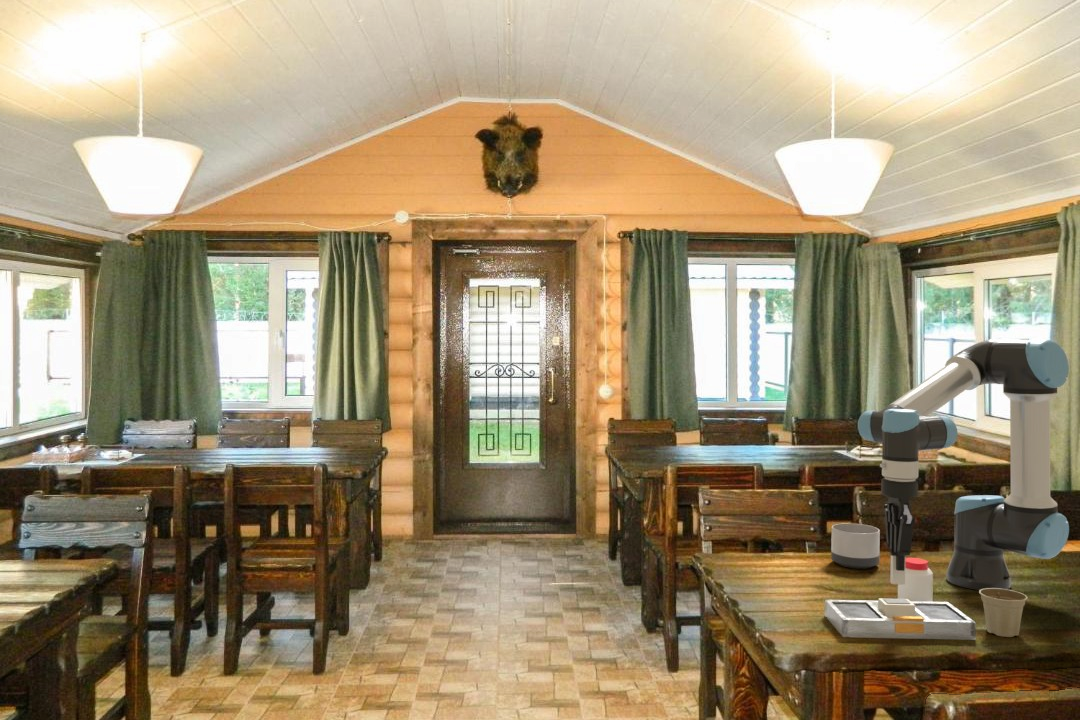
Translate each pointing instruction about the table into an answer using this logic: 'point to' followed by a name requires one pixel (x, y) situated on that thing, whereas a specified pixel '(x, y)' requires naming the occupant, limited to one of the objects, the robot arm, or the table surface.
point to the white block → (896, 607)
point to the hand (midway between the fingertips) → (897, 583)
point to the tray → (899, 621)
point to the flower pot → (1003, 610)
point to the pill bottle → (917, 581)
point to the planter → (855, 545)
